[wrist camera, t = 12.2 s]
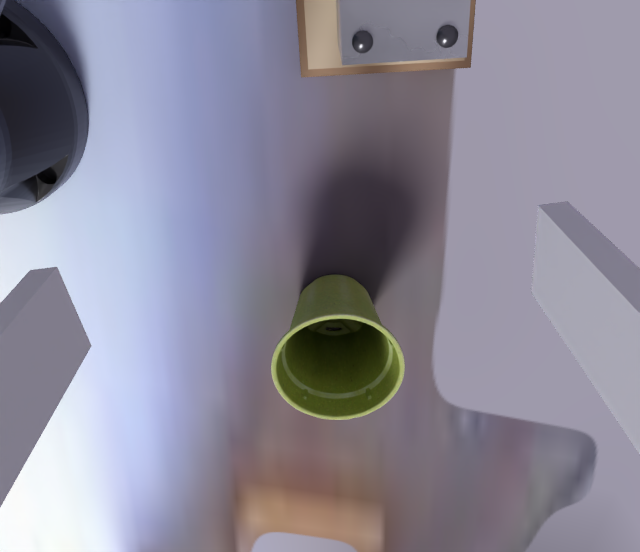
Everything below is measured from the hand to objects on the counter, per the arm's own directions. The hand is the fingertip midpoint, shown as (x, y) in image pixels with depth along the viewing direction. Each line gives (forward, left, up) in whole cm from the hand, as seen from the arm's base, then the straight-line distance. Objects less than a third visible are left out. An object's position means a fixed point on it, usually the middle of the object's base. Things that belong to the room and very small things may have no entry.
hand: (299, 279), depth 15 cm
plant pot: (+1, -17, -26) cm, 31 cm away
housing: (+5, +7, -24) cm, 25 cm away
